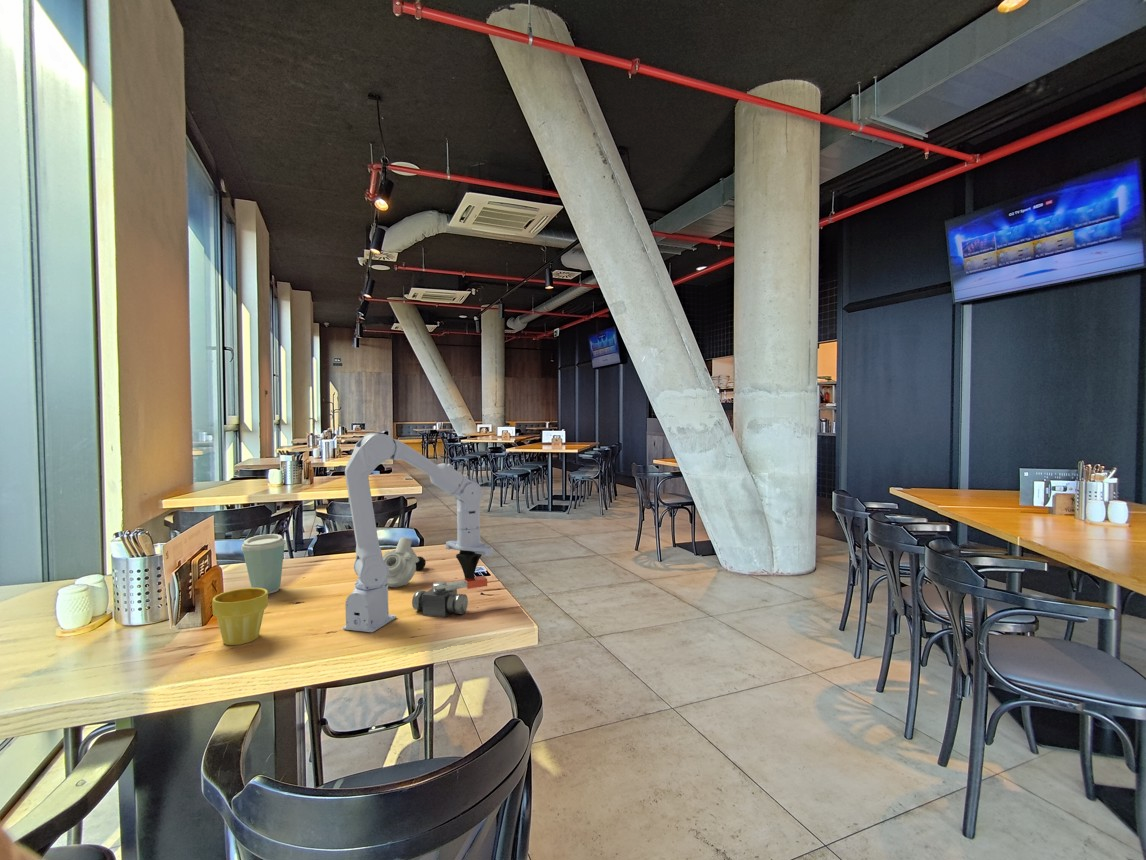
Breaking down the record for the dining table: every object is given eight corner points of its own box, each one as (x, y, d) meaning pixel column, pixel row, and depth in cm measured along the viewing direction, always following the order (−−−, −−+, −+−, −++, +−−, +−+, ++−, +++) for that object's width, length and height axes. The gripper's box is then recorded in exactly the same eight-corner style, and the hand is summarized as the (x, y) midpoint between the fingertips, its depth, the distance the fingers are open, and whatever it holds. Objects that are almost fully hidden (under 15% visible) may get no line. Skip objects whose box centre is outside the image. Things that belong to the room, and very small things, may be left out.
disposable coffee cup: (284, 595, 147) (282, 539, 146) (238, 600, 143) (236, 543, 142) (289, 583, 157) (287, 532, 156) (246, 588, 153) (244, 535, 152)
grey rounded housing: (423, 608, 163) (438, 561, 172) (402, 581, 147) (420, 531, 157) (391, 604, 164) (407, 558, 174) (367, 576, 149) (386, 528, 158)
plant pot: (278, 629, 123) (277, 586, 123) (251, 649, 113) (250, 602, 113) (232, 629, 123) (231, 587, 123) (201, 649, 113) (200, 603, 113)
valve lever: (434, 594, 131) (434, 586, 131) (431, 590, 134) (431, 582, 134) (487, 586, 136) (487, 578, 136) (483, 582, 139) (483, 575, 139)
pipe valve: (457, 618, 128) (457, 597, 128) (410, 613, 132) (410, 593, 132) (469, 609, 134) (468, 589, 134) (423, 605, 138) (423, 585, 138)
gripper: (500, 527, 138) (501, 580, 138) (459, 521, 145) (460, 572, 146) (481, 532, 132) (482, 588, 132) (439, 526, 140) (440, 578, 140)
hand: (469, 580), depth 139 cm, fingers closed, pressing on valve lever
